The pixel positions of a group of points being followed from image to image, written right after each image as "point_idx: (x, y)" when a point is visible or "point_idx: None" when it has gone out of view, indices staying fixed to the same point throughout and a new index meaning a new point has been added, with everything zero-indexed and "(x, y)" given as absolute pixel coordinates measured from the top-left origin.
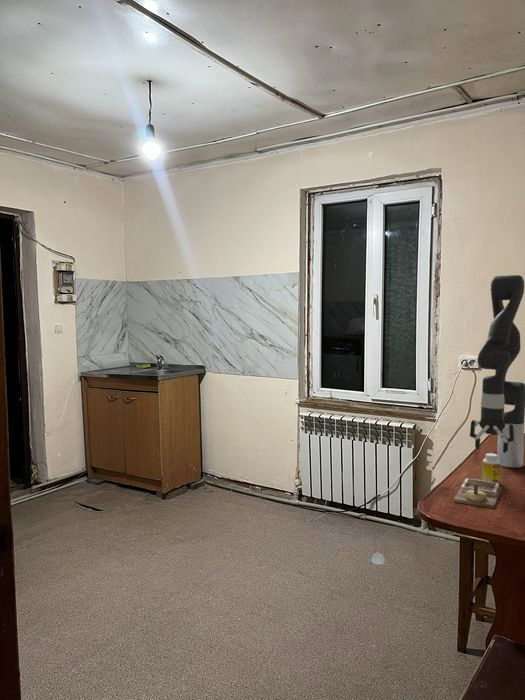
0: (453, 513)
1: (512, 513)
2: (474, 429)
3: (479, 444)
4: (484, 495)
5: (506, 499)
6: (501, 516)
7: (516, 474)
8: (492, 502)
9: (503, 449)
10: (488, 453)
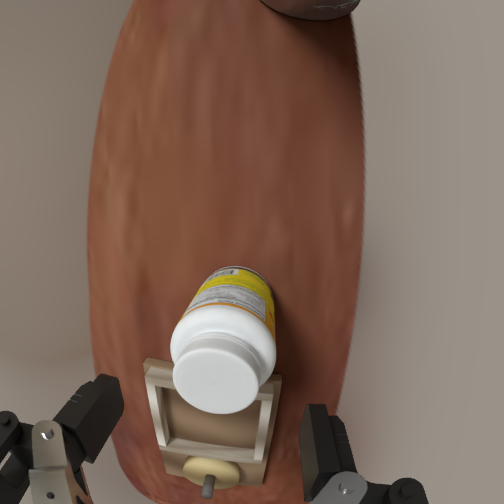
0: (188, 499)
1: (301, 485)
2: (4, 483)
3: (105, 427)
4: (234, 481)
5: (295, 435)
6: (277, 497)
7: (350, 111)
8: (256, 478)
9: (303, 454)
10: (188, 364)
